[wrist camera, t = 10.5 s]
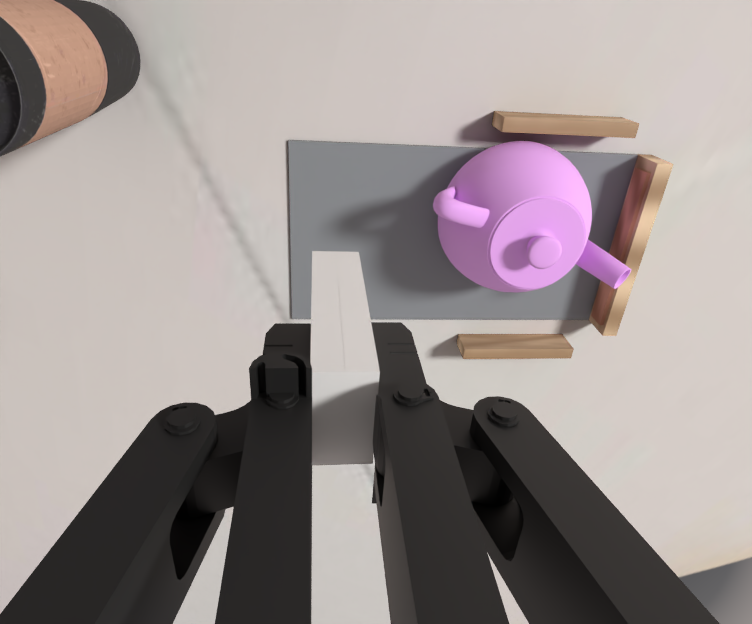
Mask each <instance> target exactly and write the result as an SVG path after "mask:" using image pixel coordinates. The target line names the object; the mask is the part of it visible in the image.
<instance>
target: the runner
mask: <svg viewBox="0 0 752 624" xmlns="http://www.w3.org/2000/svg"><path fill="white" fill-rule="evenodd" d="M288 148H289V198H290V247H291V297H292V319H311V293H312V251H340V252H359V256H360V262H361V267H362V273H363V279H364V284H365V290H366V296H367V301H368V307H369V313H370V319H473V320H589V317H590V314H591V311H592V307H593V304H594V301H595V297H596V294H597V291H598V287H599V284H600V281H601V280H600V279H598V278H597V277H595V276H593V275H592V274H590V273H589V272H587V271H586V270H584V269H582V268H581V267H579V266H578V265H576V264H575V265H574V267H573V268H572V269H571V270H570V271H569V272H568V273H567V274H566V275H564V276H563V277H562V278H561V279H559V280H558V281H556V282H554V283H553V284H551V285H548V286H546V287H543V288H540V289H537V290H532V291H527V292H501V291H496V290H492V289H489V288H486V287H483V286H481V285H479V284H477V283H475V282H473V281H472V280H470V279H468V278H467V277H465V276H464V275H463V274H462V273H461V272H460V271H458V270H457V269H456V268H455V267H454V265H453V264H452V263H451V262H450V260H449V259H448V257H447V256H446V254H445V252H444V250H443V248H442V246H441V243H440V239H439V234H438V215H437V214H436V212H435V211H434V208H433V202H434V199H435V197H436V196H437V194H438V193H439V192H441V191H443V190H445V189H447V187H448V185H449V184H450V182H451V180H452V179H453V177H454V176H455V175H456V173H457V172H458V171H459V170H460V169H461V168H462V167H463V166H464V165H465V164H466V163H467V162H468V161H469V160H470V159H472V158H473V157H474V156H476V155H477V154H479V153H481V152H482V151H484V150H486V149H488V148H472V147H447V146H423V145H399V144H375V143H350V142H326V141H302V140H288ZM558 152H559V153H561V154H562V155H563V156H564V157H566V158H567V159H568V160H569V161H570V162H571V163H572V164H573V165H574V166H575V168H576V169H577V170H578V172H579V173H580V175H581V176H582V178H583V180H584V182H585V185H586V187H587V189H588V192H589V196H590V200H591V208H592V221H591V228H590V233H589V237H588V240H590V241H591V242H593V243H594V244H596V245H597V246H598V247H600V248H601V249H603V250H604V251H606V252H607V253H609V250H610V247H611V244H612V240H613V237H614V234H615V230H616V227H617V224H618V220H619V217H620V214H621V210H622V207H623V204H624V200H625V197H626V194H627V190H628V187H629V184H630V180H631V177H632V174H633V170H634V167H635V164H636V160H637V157H638V155H637V154H617V153H593V152H569V151H558Z"/></svg>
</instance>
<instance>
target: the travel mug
mask: <svg viewBox="0 0 752 624" xmlns="http://www.w3.org/2000/svg"><path fill="white" fill-rule="evenodd" d="M139 72H140V54H139V50H138V47H137V44H136V41H135V39H134V37H133V35H132V33H131V32H130V30H129V29H128V27H127V26H126V25H125V24H124V22H123V21H122V20H121V19H120V18H119V17H117V16H116V15H115V14H114V13H112V12H111V11H109V10H108V9H106V8H104V7H102V6H100V5H98V4H95V3H91V2H87V1H82V0H0V156H2V155H5V154H7V153H9V152H11V151H14V150H16V149H18V148H20V147H23V146H25V145H27V144H30V143H32V142H34V141H36V140H39V139H41V138H43V137H46V136H48V135H50V134H52V133H55V132H57V131H59V130H61V129H64V128H66V127H68V126H71V125H73V124H75V123H77V122H80V121H82V120H84V119H86V118H87V117H89V116H91V115H93V114H94V113H96V112H98V111H100V110H101V109H103V108H105V107H107V106H108V105H110V104H112V103H113V102H115V101H117V100H119V99H120V98H122V97H123V96H125V95H126V94H127V93H128V92H129V91H130V90H131V89H132V88H133V86H134V85H135V83H136V81H137V79H138V76H139Z"/></svg>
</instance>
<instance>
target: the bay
mask: <svg viewBox="0 0 752 624" xmlns="http://www.w3.org/2000/svg"><path fill="white" fill-rule="evenodd" d="M492 126H494V127H495V128H497V129H498V130H500V131H501V132H513V133H535V134H557V135H579V136H601V137H624V138H635V137H636V133H637V130H638V127H639V123H636V122H633V121H630V120H628V119H625V118H622V117H602V116H582V115H562V114H541V113H521V112H501V111H494V115H493V121H492ZM637 155H638V157H637V160H636V164H635V167H634V170H633V174H632V177H631V180H630V184H629V187H628V190H627V194H626V197H625V200H624V204H623V207H622V210H621V214H620V217H619V220H618V224H617V227H616V230H615V234H614V237H613V240H612V244H611V247H610V250H609V254H610V255H611V256H613V257H614V258H616V259H617V260H619V261H620V262H622V263H623V264H625V265H626V266H627V267H629V268H630V269H631V272H630V274H629V276H628V277H627V279H626V280H625V281H624V282H623V283H622V284H621V285H620V286H619V287H618V288H616V289H614V288H612V287H611V286H609V285H608V284H606V283H604V282H603V281H600V284H599V287H598V291H597V294H596V297H595V301H594V304H593V307H592V311H591V314H590V317H589V321H590V322H591V323H592V324H593V325H594V326H595V327H596V329H597V330H598V331H599V332H600V333H601V334H602V335H603V336H616V335H617V332H618V329H619V326H620V323H621V320H622V317H623V314H624V311H625V308H626V305H627V302H628V299H629V296H630V293H631V290H632V287H633V284H634V281H635V278H636V275H637V272H638V269H639V266H640V263H641V260H642V257H643V254H644V251H645V248H646V245H647V242H648V239H649V236H650V233H651V230H652V227H653V224H654V221H655V218H656V215H657V212H658V209H659V206H660V203H661V200H662V197H663V194H664V191H665V188H666V185H667V182H668V179H669V176H670V173H671V170H672V167H673V164H672V163H669V162H667V161H665V160H662V159H660V158H658V157H655V156H653V155H641V154H637ZM457 345H458V348H459V350H460V352H461V355H462V357H463V359H525V358H571V356H572V353H573V348H572V346H571V345H570V344H569V342H568V341H567V340H566V338H565V337H564V336H563V334H458V339H457Z"/></svg>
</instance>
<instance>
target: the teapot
mask: <svg viewBox="0 0 752 624" xmlns="http://www.w3.org/2000/svg"><path fill="white" fill-rule="evenodd" d="M433 208H434V211H435V212H436V214H437V215H438V234H439V239H440V243H441V246H442V248H443V250H444V252H445V254H446V256H447V257H448V259H449V260H450V262H451V263H452V264H453V265H454V267H455V268H456V269H457V270H458V271H460V272H461V273H462V274H463V275H464V276H465V277H467V278H468V279H470V280H472V281H473V282H475V283H477V284H479V285H481V286H483V287H486V288H489V289H492V290H496V291H501V292H527V291H532V290H537V289H540V288H543V287H546V286H548V285H551V284H553V283H554V282H556V281H558V280H559V279H561V278H562V277H563V276H564V275H566V274H567V273H568V272H569V271H570V270H571V269H572V268H573V267H574V265H575V264H576V265H578V266H579V267H581V268H582V269H584V270H586V271H587V272H589V273H590V274H592V275H593V276H595V277H597V278H598V279H600V280H601V281H603V282H604V283H606V284H608V285H609V286H611V287H612V288H614V289H616V288H618V287H619V286H620V285H621V284H622V283H623V282H624V281H625V280H626V279H627V277H628V276H629V274H630V272H631V269H630V268H629V267H627V266H626V265H625V264H623V263H622V262H620V261H619V260H617V259H616V258H614V257H613V256H611V255H610V254H609V253H607V252H606V251H604V250H603V249H601V248H600V247H598V246H597V245H596V244H594V243H593V242H591V241H590V240H588V237H589V233H590V228H591V221H592V208H591V200H590V196H589V192H588V189H587V187H586V185H585V182H584V180H583V178H582V176H581V175H580V173H579V172H578V170H577V169H576V168H575V166H574V165H573V164H572V163H571V162H570V161H569V160H568V159H567V158H566V157H564V156H563V155H562V154H561V153H559V152H558V151H556V150H554V149H553V148H551V147H549V146H546V145H543V144H541V143H536V142H531V141H512V142H506V143H502V144H499V145H496V146H493V147H490V148H488V149H486V150H484V151H482V152H481V153H479V154H477V155H476V156H474V157H473V158H472V159H470V160H469V161H468V162H467V163H466V164H465V165H464V166H463V167H462V168H461V169H460V170H459V171H458V172H457V173H456V175H455V176H454V177H453V179H452V180H451V182H450V184H449V185H448V187H447V189H445V190H443V191H441V192H439V193H438V194H437V196H436V197H435V199H434V202H433Z"/></svg>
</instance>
